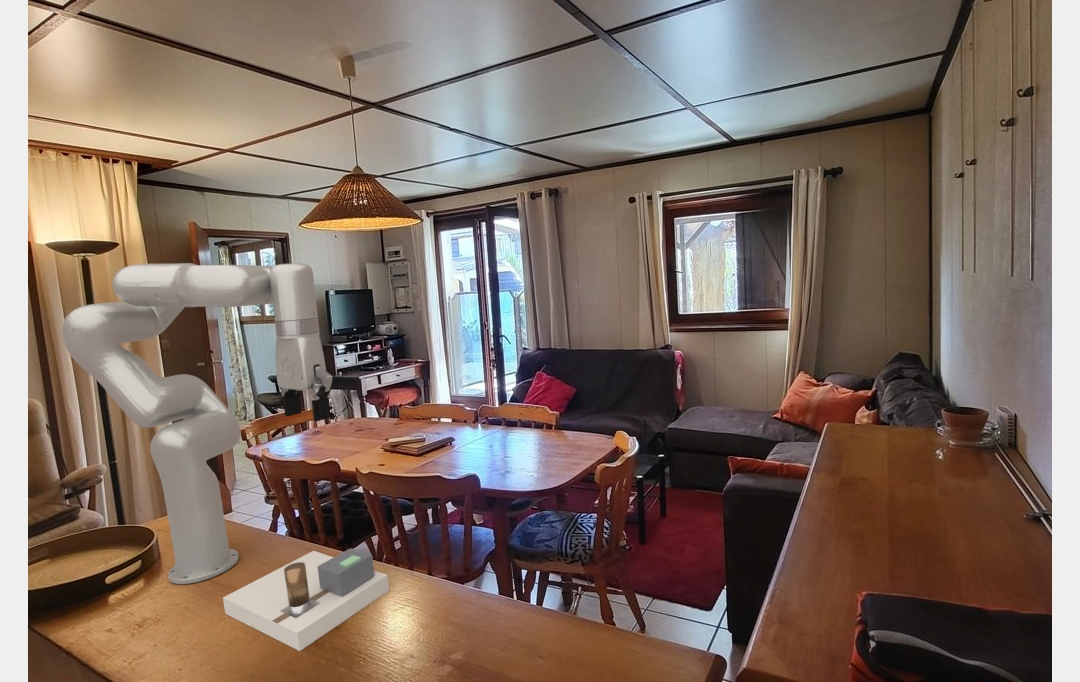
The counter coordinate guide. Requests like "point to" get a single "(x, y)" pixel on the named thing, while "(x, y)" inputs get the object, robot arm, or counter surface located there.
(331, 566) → the block
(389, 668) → the counter surface
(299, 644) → the white flat rectangular board
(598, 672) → the counter surface
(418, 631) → the counter surface
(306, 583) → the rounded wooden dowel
